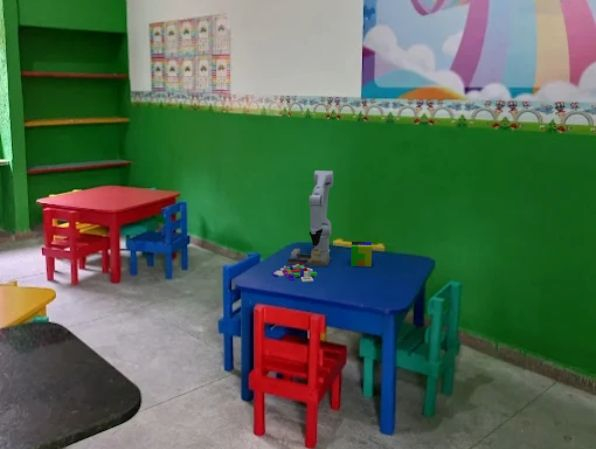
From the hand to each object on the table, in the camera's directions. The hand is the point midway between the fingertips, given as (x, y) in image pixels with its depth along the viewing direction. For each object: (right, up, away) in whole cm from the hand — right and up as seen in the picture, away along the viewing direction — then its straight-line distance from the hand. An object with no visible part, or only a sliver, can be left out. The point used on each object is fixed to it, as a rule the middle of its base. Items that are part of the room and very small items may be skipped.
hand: (316, 244), depth 311 cm
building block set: (-11, -14, -16) cm, 24 cm away
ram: (-10, -7, +4) cm, 13 cm away
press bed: (-3, -9, +3) cm, 10 cm away
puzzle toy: (+23, -10, +1) cm, 25 cm away
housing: (0, -8, +2) cm, 8 cm away
